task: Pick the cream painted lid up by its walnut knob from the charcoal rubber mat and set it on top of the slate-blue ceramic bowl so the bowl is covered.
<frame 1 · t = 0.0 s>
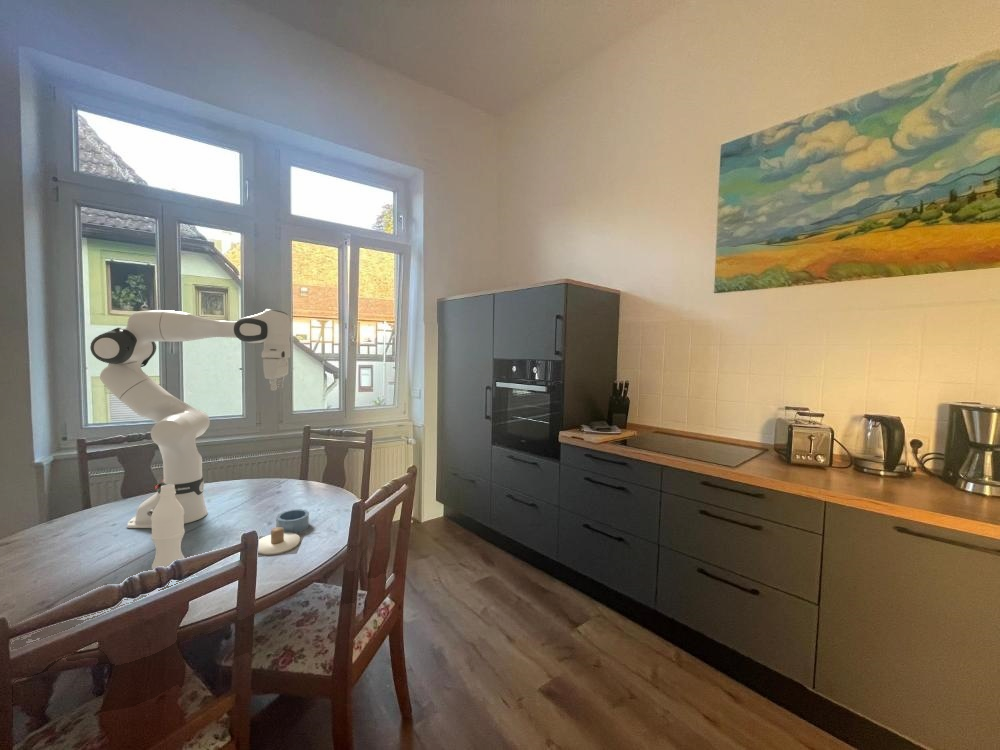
hand: (277, 388, 153), 48 cm above the table, tool pointing down, fingers open, 8 cm apart
mat: (277, 546, 130), on the table
water bottle: (168, 573, 113), on the table
lid: (277, 544, 130), point 1 cm above the table, touching mat
bowl: (292, 528, 142), on the table
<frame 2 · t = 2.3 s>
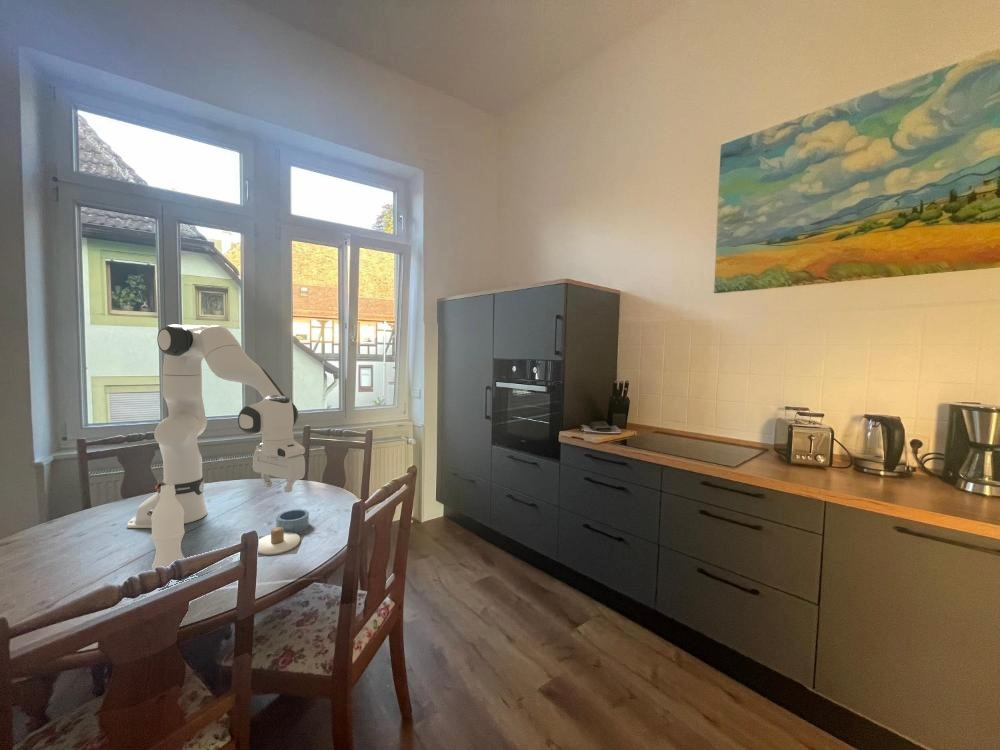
hand: (277, 489, 128), 19 cm above the table, tool pointing down, fingers open, 8 cm apart
nothing on the table moved.
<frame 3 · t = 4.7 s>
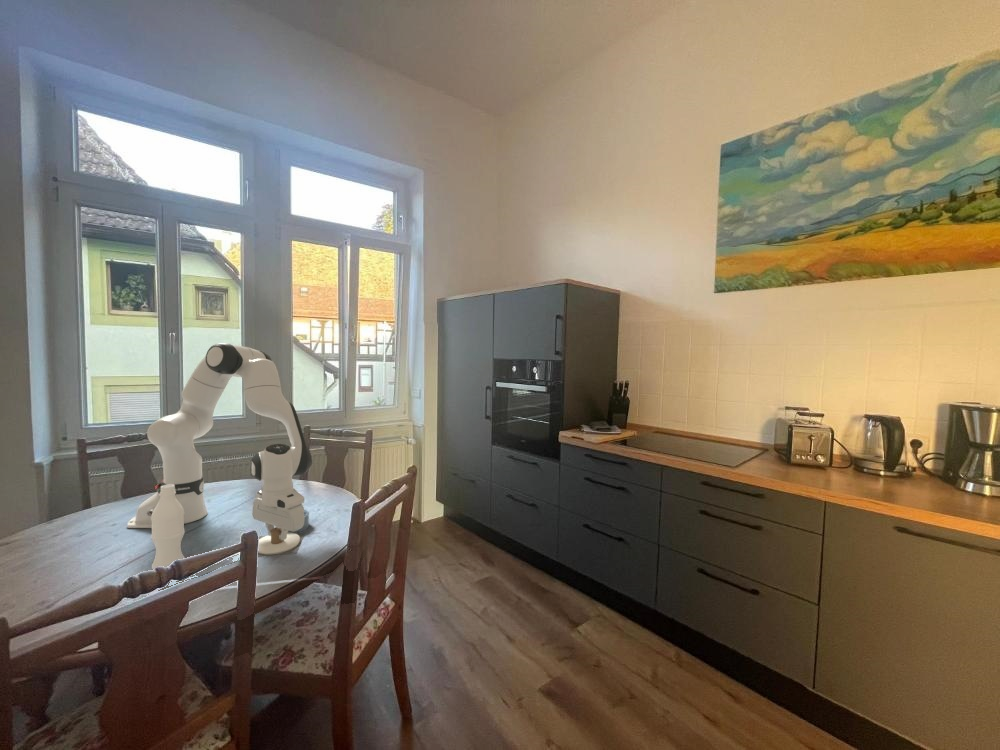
hand: (277, 537, 129), 3 cm above the table, tool pointing down, fingers closed on lid, 4 cm apart
lid: (277, 544, 130), point 1 cm above the table, touching gripper, mat
everything else where it was.
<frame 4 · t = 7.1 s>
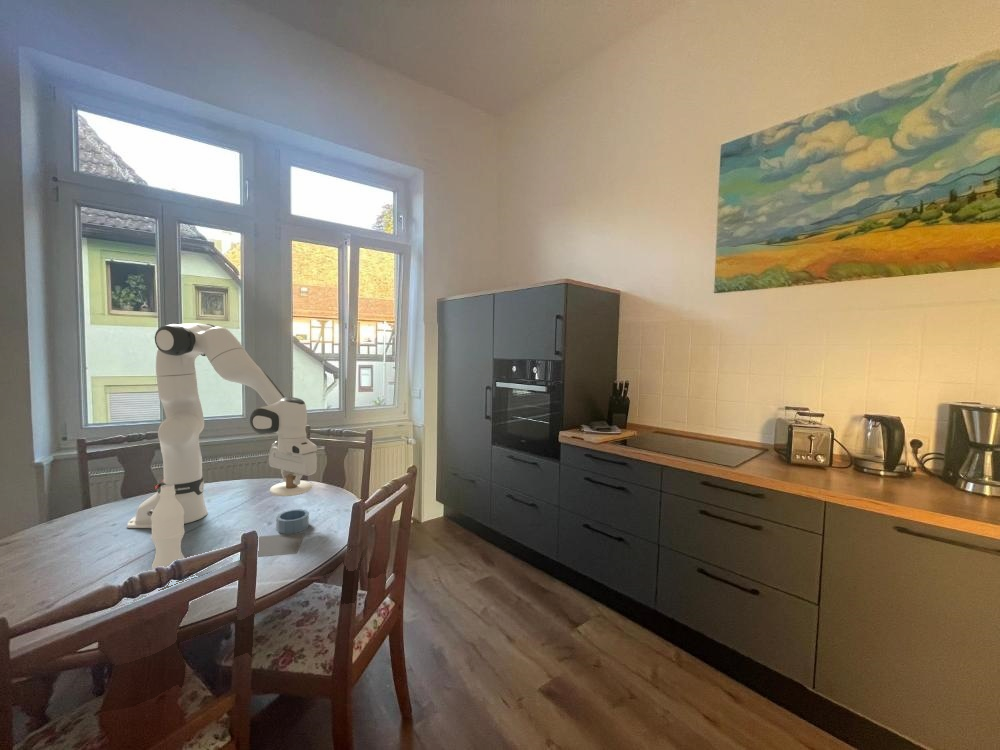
hand: (291, 483, 140), 17 cm above the table, tool pointing down, fingers closed on lid, 4 cm apart
lid: (291, 489, 140), point 15 cm above the table, touching gripper
everything else where it was.
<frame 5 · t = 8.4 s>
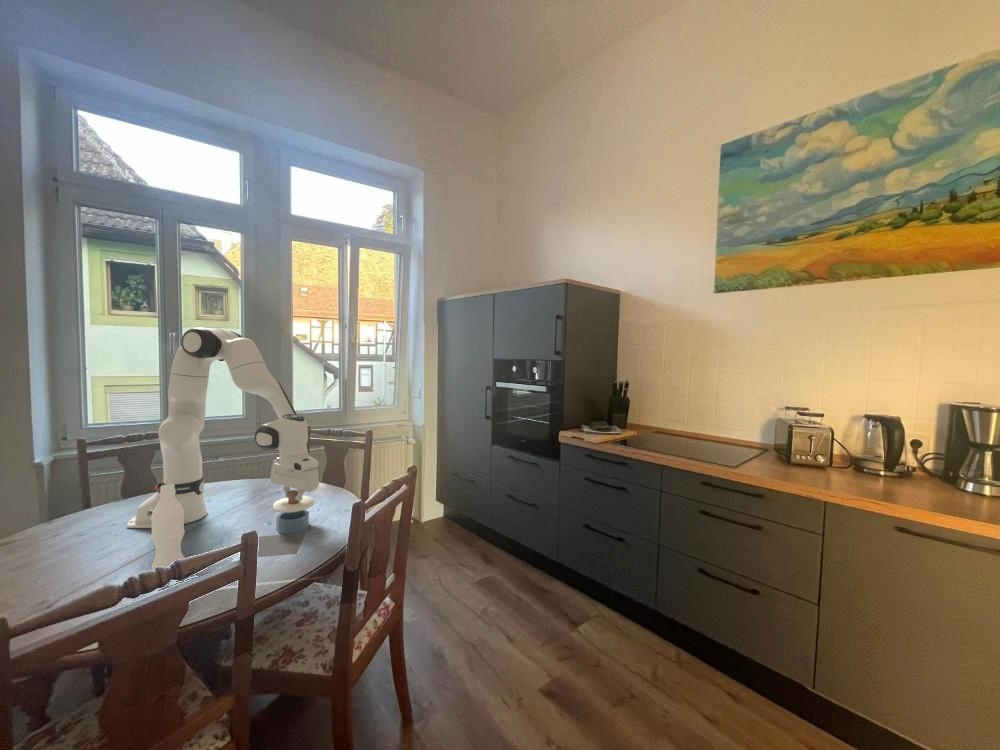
hand: (293, 498, 142), 11 cm above the table, tool pointing down, fingers closed on lid, 4 cm apart
lid: (294, 505, 142), point 8 cm above the table, touching gripper
everything else where it was.
when the fingers open (8 cm above the table, at t = 9.5 s): lid drops 1 cm, resting on bowl.
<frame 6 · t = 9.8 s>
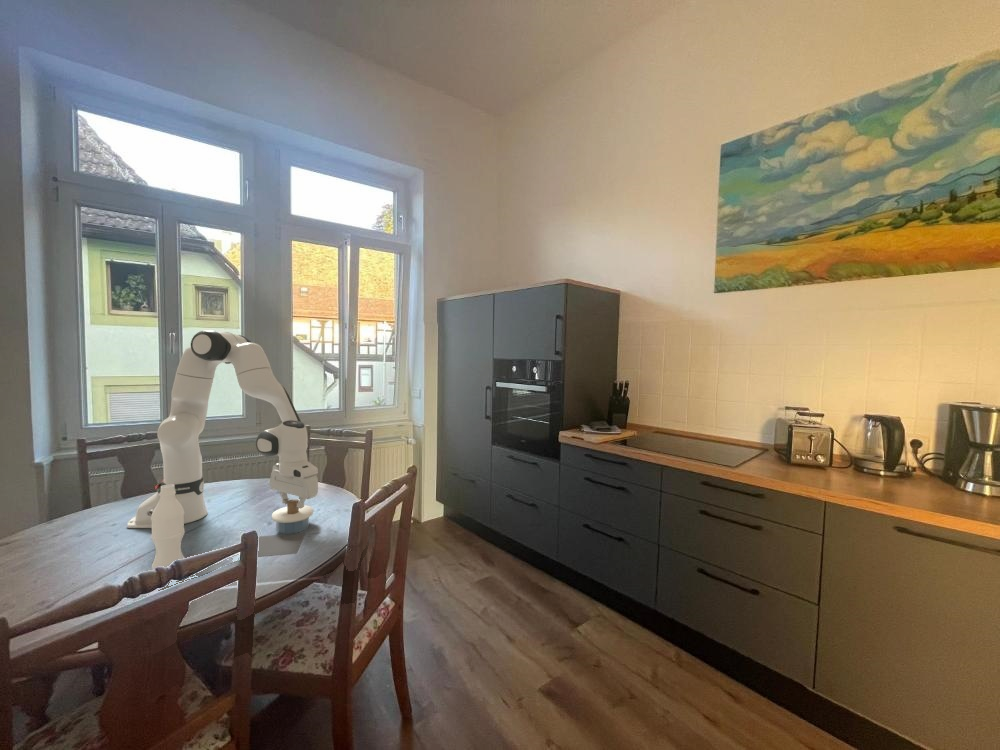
hand: (293, 505, 142), 8 cm above the table, tool pointing down, fingers open, 6 cm apart
lid: (292, 514, 142), point 5 cm above the table, touching bowl
everything else where it was.
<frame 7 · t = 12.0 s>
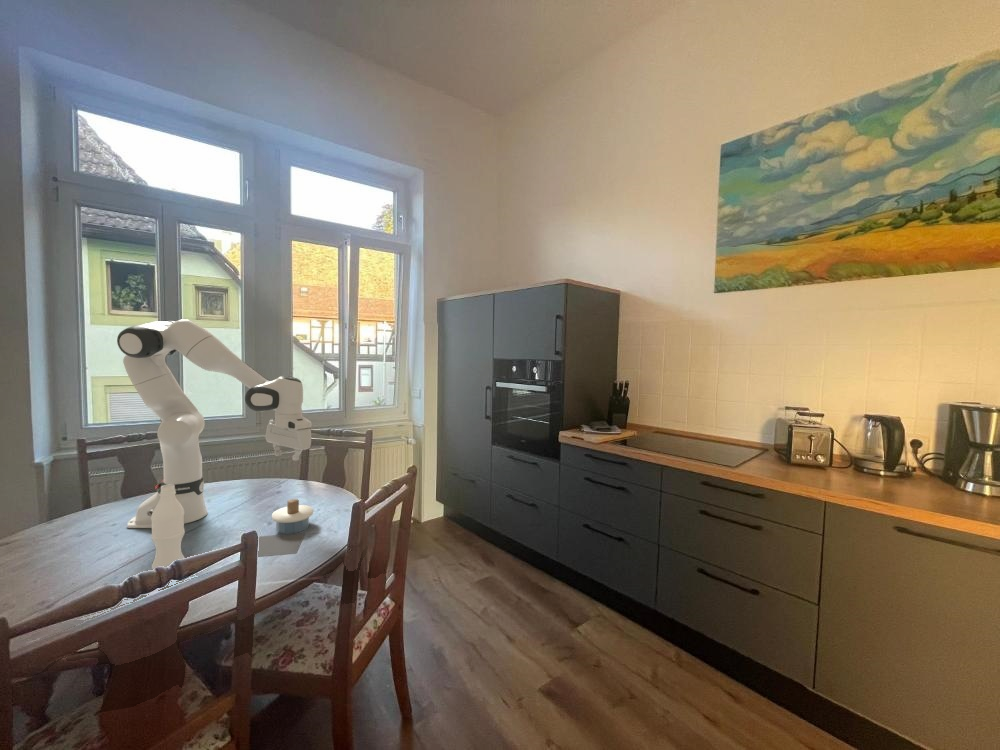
hand: (286, 457, 147), 23 cm above the table, tool pointing down, fingers open, 8 cm apart
nothing on the table moved.
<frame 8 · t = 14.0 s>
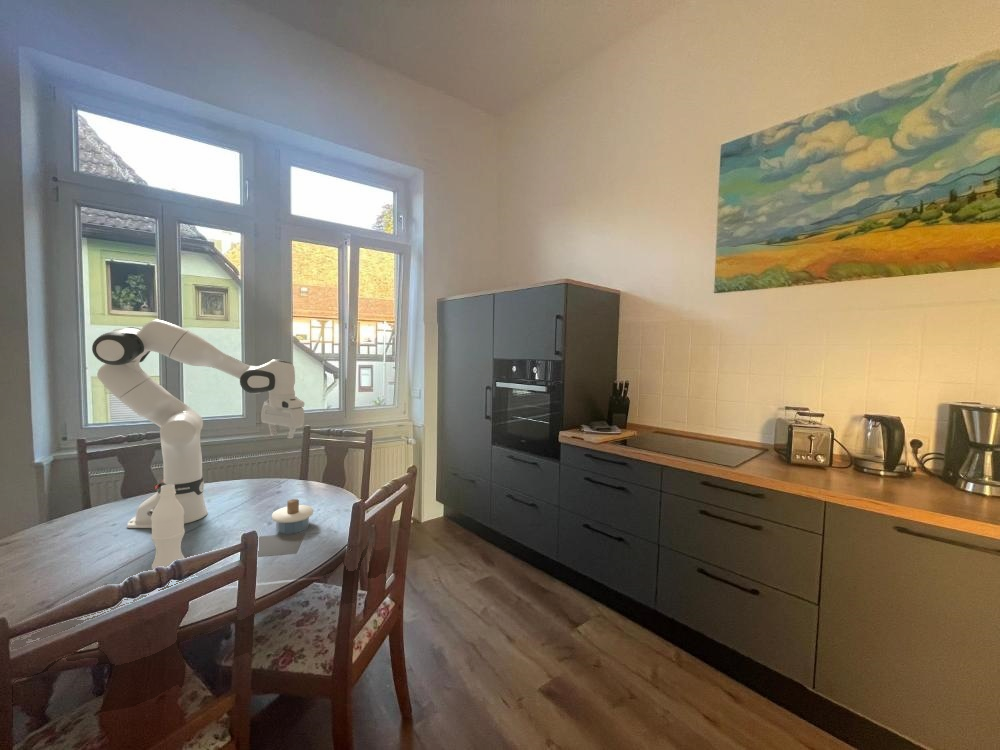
hand: (282, 436, 156), 29 cm above the table, tool pointing down, fingers open, 8 cm apart
nothing on the table moved.
at the end: lid 0.1 cm off-centre on the bowl, point 5.0 cm above the bowl's base; lid tilted 0°; the gripper is holding nothing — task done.
